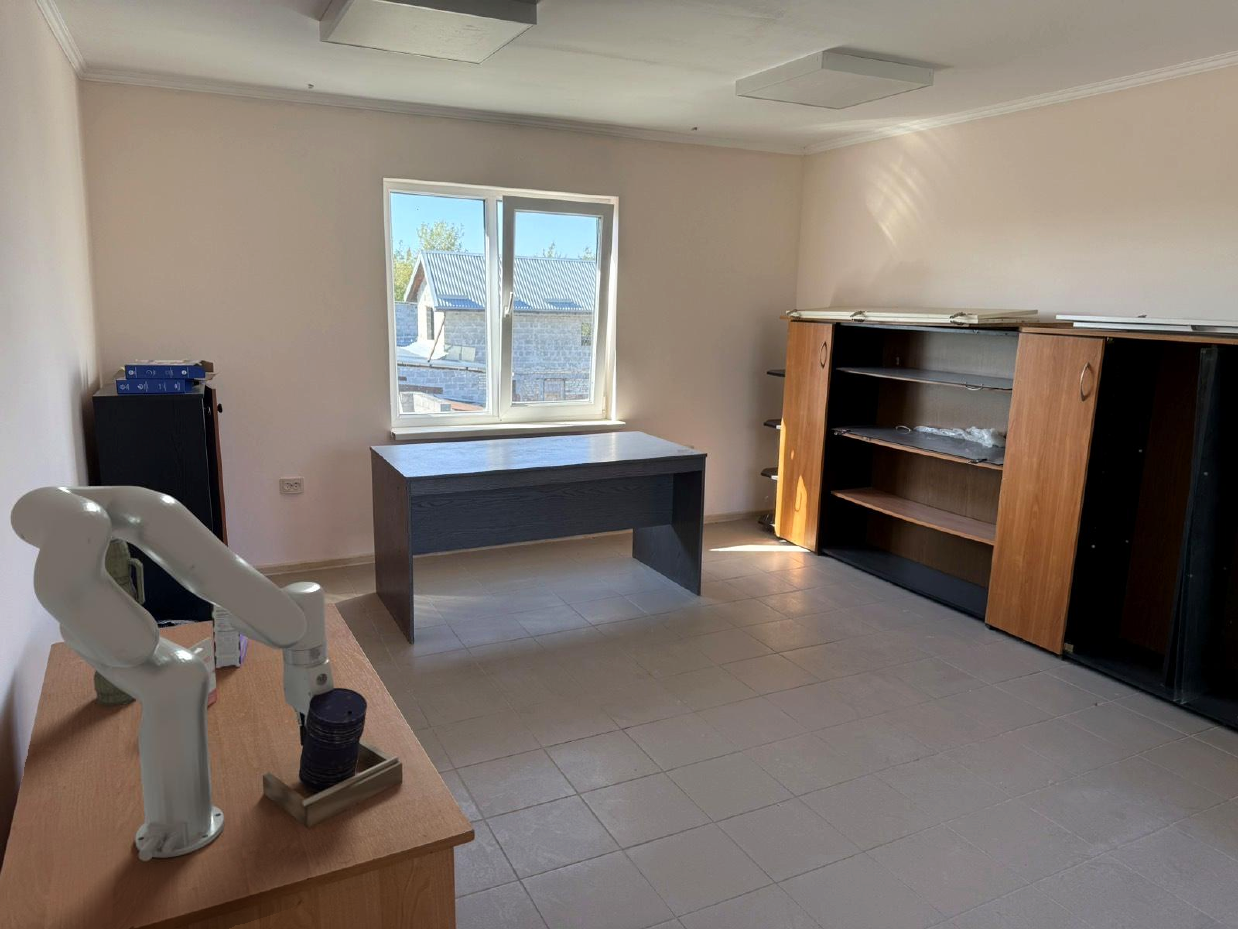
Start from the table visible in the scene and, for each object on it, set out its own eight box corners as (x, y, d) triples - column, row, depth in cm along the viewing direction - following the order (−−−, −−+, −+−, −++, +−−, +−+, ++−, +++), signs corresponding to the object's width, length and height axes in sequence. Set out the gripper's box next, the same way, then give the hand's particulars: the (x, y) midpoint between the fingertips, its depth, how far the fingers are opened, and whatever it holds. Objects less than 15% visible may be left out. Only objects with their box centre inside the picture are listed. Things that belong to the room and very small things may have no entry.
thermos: (151, 700, 174) (138, 541, 167) (85, 710, 169) (69, 547, 162) (154, 682, 181) (142, 530, 175) (91, 691, 176) (76, 535, 170)
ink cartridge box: (197, 697, 176) (193, 633, 173) (217, 700, 175) (213, 635, 172) (168, 716, 167) (163, 649, 165) (189, 719, 166) (184, 652, 164)
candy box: (223, 645, 202) (219, 581, 199) (249, 643, 204) (245, 580, 200) (214, 669, 189) (209, 601, 186) (242, 666, 191) (238, 600, 188)
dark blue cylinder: (285, 772, 145) (296, 702, 141) (330, 747, 154) (341, 680, 149) (323, 802, 141) (335, 730, 137) (367, 775, 150) (379, 707, 145)
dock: (263, 793, 143) (262, 771, 142) (355, 751, 157) (354, 731, 156) (309, 828, 134) (308, 805, 133) (402, 780, 148) (402, 759, 147)
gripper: (348, 656, 145) (352, 749, 149) (301, 633, 154) (306, 722, 158) (309, 671, 139) (315, 768, 143) (263, 646, 148) (270, 738, 152)
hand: (311, 743), depth 151 cm, fingers closed
